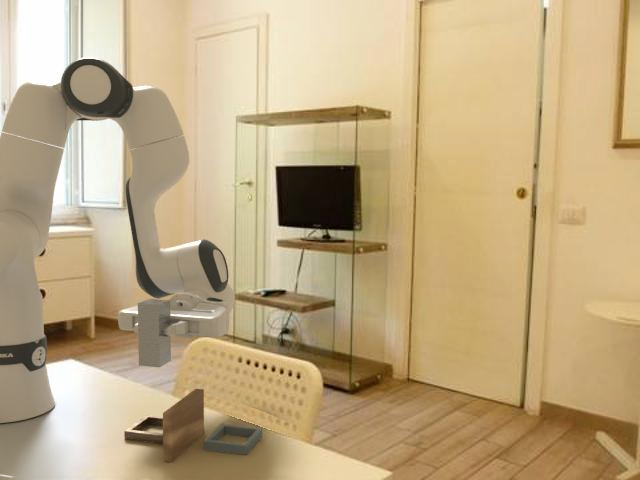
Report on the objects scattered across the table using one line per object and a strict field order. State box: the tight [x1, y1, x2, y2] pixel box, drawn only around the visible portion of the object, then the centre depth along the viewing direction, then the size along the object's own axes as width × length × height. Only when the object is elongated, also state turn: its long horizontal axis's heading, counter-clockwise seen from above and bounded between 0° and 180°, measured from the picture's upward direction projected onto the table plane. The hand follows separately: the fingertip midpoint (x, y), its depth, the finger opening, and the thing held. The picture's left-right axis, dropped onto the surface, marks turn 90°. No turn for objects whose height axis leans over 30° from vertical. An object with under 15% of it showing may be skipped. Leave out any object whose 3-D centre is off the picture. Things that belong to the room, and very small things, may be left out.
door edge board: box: [162, 388, 205, 463], centre depth 104 cm, size 2×12×8 cm, turn 166°
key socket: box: [123, 414, 163, 445], centre depth 109 cm, size 8×8×2 cm
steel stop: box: [137, 298, 172, 368], centre depth 108 cm, size 4×4×11 cm
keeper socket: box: [203, 423, 263, 456], centre depth 106 cm, size 8×8×2 cm
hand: (152, 330), depth 107 cm, fingers closed on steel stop, 4 cm apart
